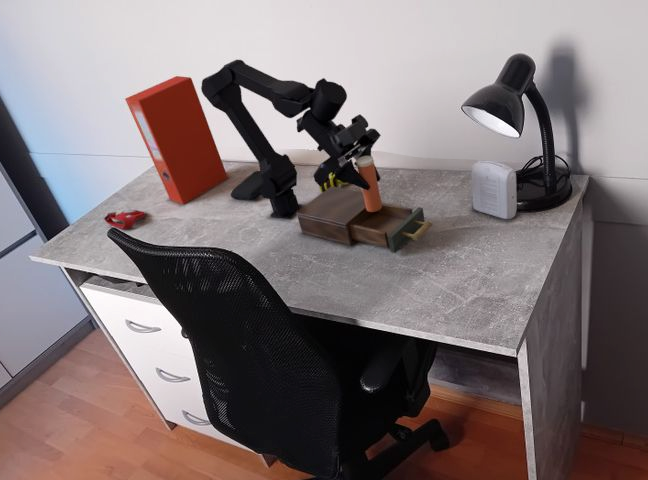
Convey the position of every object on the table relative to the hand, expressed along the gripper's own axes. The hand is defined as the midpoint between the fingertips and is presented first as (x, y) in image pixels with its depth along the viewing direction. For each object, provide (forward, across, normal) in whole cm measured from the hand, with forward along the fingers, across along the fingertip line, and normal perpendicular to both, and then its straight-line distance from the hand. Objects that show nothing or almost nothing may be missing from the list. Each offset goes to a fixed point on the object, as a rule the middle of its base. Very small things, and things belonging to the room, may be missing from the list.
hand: (374, 184), depth 119 cm
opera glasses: (-9, +15, +29) cm, 34 cm away
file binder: (-41, +1, +61) cm, 74 cm away
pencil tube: (+3, 0, +5) cm, 6 cm away
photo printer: (+23, +17, -4) cm, 29 cm away
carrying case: (-26, +7, +46) cm, 53 cm away
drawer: (+10, 0, +7) cm, 13 cm away
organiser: (+1, 0, +18) cm, 18 cm away
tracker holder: (-46, -22, +66) cm, 83 cm away
